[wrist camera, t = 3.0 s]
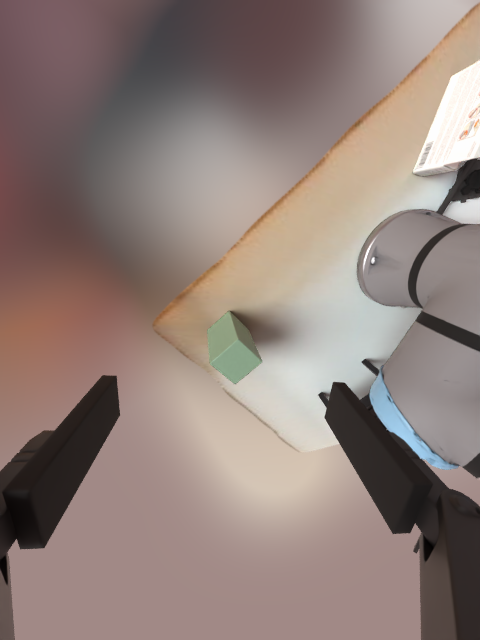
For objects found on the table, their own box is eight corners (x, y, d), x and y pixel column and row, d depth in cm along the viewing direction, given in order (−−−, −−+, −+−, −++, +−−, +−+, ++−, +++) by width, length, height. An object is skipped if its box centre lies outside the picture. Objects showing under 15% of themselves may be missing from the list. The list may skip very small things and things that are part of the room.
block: (229, 310, 39) (238, 338, 30) (248, 329, 41) (262, 362, 32) (207, 330, 39) (209, 363, 30) (227, 348, 41) (235, 384, 32)
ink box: (463, 81, 31) (568, 27, 22) (423, 177, 35) (498, 164, 26) (449, 74, 30) (550, 17, 22) (409, 173, 35) (481, 158, 26)
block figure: (509, 155, 33) (496, 198, 36) (490, 158, 36) (479, 199, 38) (471, 159, 33) (461, 203, 35) (455, 162, 35) (446, 204, 37)
